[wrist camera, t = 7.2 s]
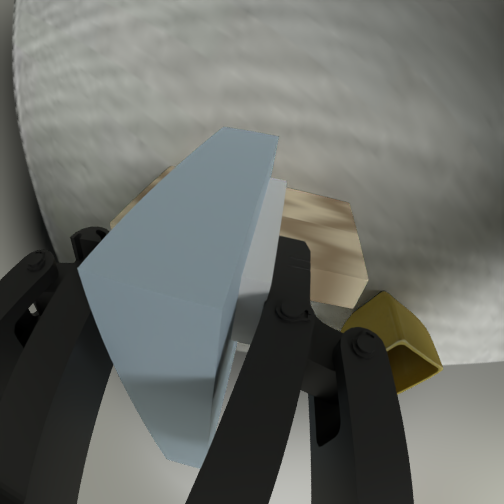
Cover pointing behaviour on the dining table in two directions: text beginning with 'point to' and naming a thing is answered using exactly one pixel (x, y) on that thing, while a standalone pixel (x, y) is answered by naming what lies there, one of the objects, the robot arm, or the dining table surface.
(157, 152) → the dining table surface
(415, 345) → the flower pot
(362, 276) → the tan wooden block
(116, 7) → the dining table surface
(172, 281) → the pale blue upright slab
